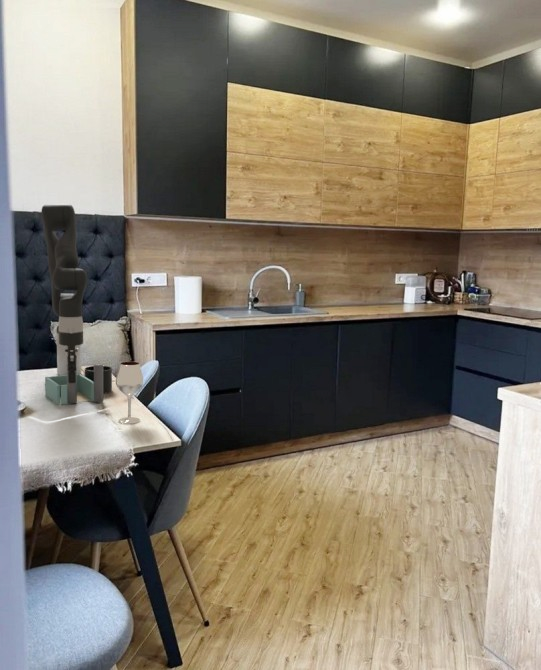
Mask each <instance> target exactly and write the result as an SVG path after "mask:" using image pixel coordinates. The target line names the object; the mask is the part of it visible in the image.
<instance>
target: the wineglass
mask: <svg viewBox="0 0 541 670" xmlns="http://www.w3.org/2000/svg"><path fill="white" fill-rule="evenodd" d="M118 366H119V367H118V370H117V374H116V377H115V384H116V387H117V389H118V390H119V391H120V392H121V393H123V394H124V395H125V396H126V397H127V399H128V403H127V404H128V405H127V406H128V411H127V417H122V418H119V419H118V423H120V424H123V425H134V424H137V423H139V422H140V421H141V419H140V418H139V417H134V416H132V397H133V396H134V395H136V393H138V392H139V391H140V390H141V389H142V387H143V386H144V375H143V372H142V368H141V364H140V362H139V361H138V362H137V361H123V362H120V363H119V365H118Z"/></svg>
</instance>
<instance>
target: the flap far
mask: <svg viewBox="0 0 541 670" xmlns="http://www.w3.org/2000/svg"><path fill="white" fill-rule="evenodd" d="M93 366H94V383H93V382H92V383H91V401H92V402H94V403H99V404H101V403H103V402H104V394H103V366H104V364H102V363H94V364H93ZM91 401H90V402H91Z"/></svg>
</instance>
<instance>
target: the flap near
mask: <svg viewBox="0 0 541 670" xmlns="http://www.w3.org/2000/svg"><path fill="white" fill-rule="evenodd" d="M70 367H74V366H70ZM67 369H68V365H67ZM76 369H77V365H76ZM77 403H78V402H77V370H76V382H75V383H69V381H68V370H67V385H61V404H60V405H70V404H77Z"/></svg>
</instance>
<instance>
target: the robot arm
mask: <svg viewBox="0 0 541 670" xmlns="http://www.w3.org/2000/svg"><path fill="white" fill-rule="evenodd" d="M40 212H41V220H42V226H43V231H44V236H45V244H46V253H47V264H48V265H47V266H48V271H49V277H50V283H51V287H50V288H51V305H52V306H51V307H52V312H53V314H54V315H55V316H57V317H58V325H57V326H56V368H57V369H56V370H57V371H56V373H57V374H56V375H57V376H62V375H67V370H68V381H69V383H75V382H76V370H77V374H81V375H82V358H81V357H82V352H81V351H82V350H81V349H82V348H81V347H82V345H83V344H84V320H83V299H84V294H85V291H86V286H87V284H88V275H87V272H86V271H85V270H84V269H82V268H79V265H80V264H79V256H78V251H77V219H76V213H75V212H76V211H75V208H74V206H73V205H72V204H69V203H49V204H44V205H43V206H42V207H41V211H40ZM56 231H57V232H58V231H59V232H60V231H64V232H63V234H62V236H61V237H60V238H59V237H58V236H57V234H56ZM62 291H75V292H74V293H65V292H64V293H63V292H62ZM67 365H68V369H67ZM76 365H77V369H76ZM70 366H74V367H70Z"/></svg>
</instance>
